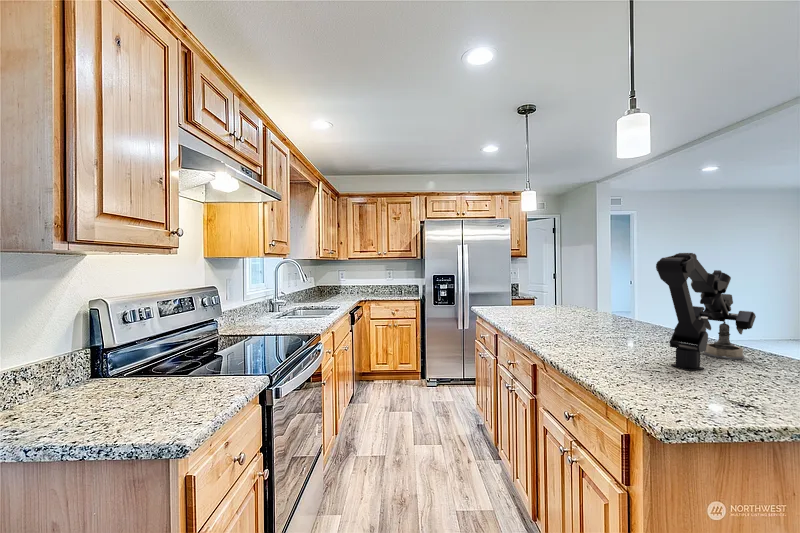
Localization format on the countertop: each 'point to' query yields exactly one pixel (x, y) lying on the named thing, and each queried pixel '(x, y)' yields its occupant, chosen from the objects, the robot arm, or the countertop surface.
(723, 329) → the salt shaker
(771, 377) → the countertop surface
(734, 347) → the ring holder
